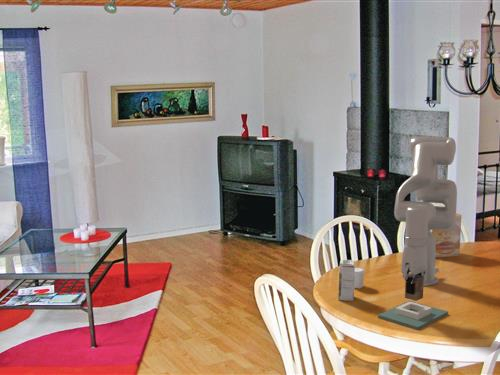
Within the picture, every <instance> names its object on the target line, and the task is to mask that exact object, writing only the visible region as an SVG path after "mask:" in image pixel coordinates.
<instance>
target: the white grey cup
mask: <svg viewBox="0 0 500 375" xmlns="http://www.w3.org/2000/svg"><path fill="white" fill-rule="evenodd" d="M365 271H366V270H365V269H364V268H362V267H356V266H355V278H354V289H355V288H358V289H361V288H363V287H364V280H365Z"/></svg>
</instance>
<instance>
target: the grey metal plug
mask: <svg viewBox="0 0 500 375" xmlns="http://www.w3.org/2000/svg"><path fill="white" fill-rule="evenodd" d="M409 277H410V278H412V276H409ZM404 282H405V281H404ZM414 283H415V294H414V295H412V294H408V293H406V282H405V284H404V285H405V287H404V289H405V290H404V298H405V299H407V300H410V301H413V302H416V301H417V302H418V301H419V300H422V299H423V298H424V286H423V285H424V276H422V275H417V274H416V275H415V278H414Z"/></svg>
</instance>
